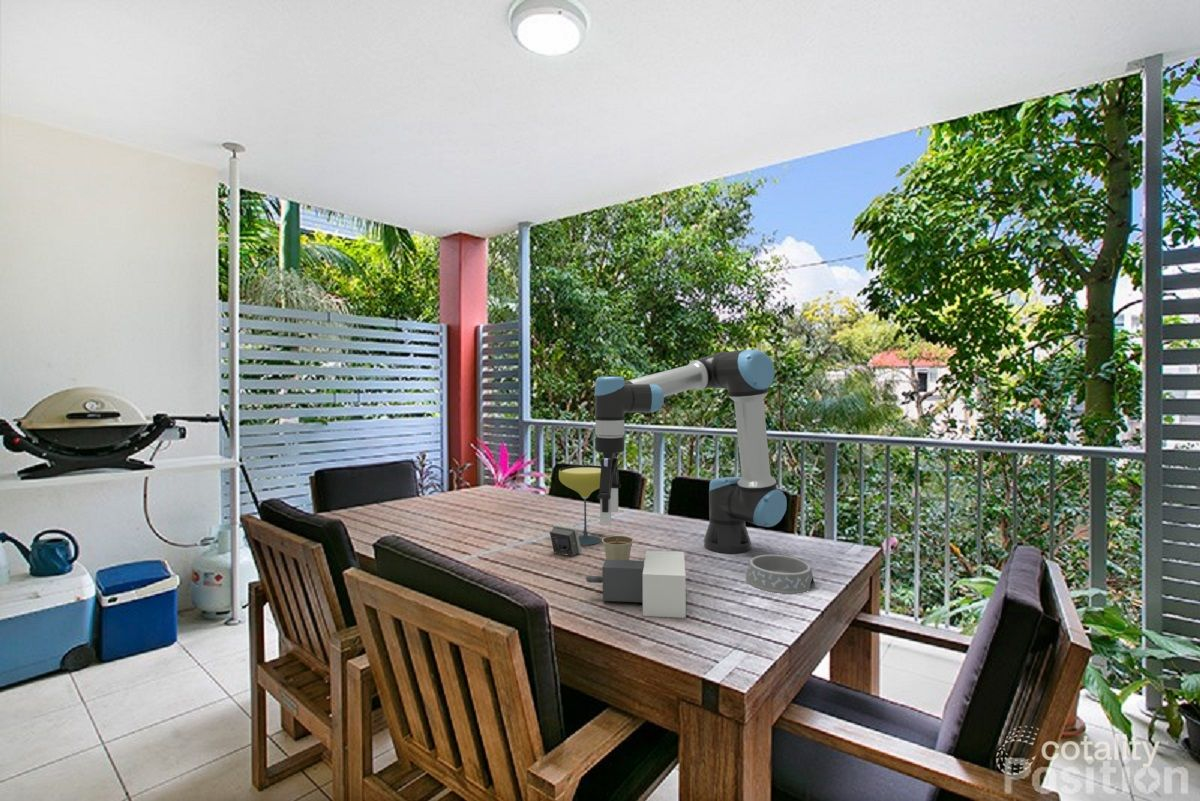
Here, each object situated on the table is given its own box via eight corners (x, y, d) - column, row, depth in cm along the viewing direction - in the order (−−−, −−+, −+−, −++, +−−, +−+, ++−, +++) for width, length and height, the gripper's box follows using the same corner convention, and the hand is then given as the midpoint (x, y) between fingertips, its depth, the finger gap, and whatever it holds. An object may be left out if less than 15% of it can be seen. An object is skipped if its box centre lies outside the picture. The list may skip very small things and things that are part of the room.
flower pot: (638, 565, 166) (638, 537, 165) (626, 576, 157) (626, 546, 157) (609, 561, 170) (609, 533, 169) (596, 571, 161) (596, 542, 161)
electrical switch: (582, 554, 177) (580, 526, 176) (572, 560, 173) (570, 531, 172) (558, 549, 183) (556, 522, 181) (549, 555, 178) (547, 527, 177)
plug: (666, 593, 142) (666, 561, 141) (666, 603, 136) (666, 569, 135) (588, 590, 144) (587, 558, 144) (584, 599, 138) (584, 566, 138)
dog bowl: (817, 577, 156) (817, 558, 156) (807, 600, 140) (807, 579, 140) (756, 567, 164) (756, 549, 164) (739, 588, 148) (739, 568, 148)
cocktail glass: (570, 551, 180) (569, 475, 179) (552, 537, 197) (551, 467, 196) (620, 544, 187) (619, 471, 186) (599, 531, 204) (598, 463, 203)
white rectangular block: (684, 588, 147) (683, 551, 147) (685, 617, 129) (685, 575, 129) (646, 587, 148) (646, 550, 148) (642, 615, 130) (642, 574, 130)
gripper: (602, 431, 155) (602, 506, 156) (586, 441, 131) (586, 530, 131) (629, 432, 154) (628, 507, 155) (618, 441, 130) (618, 531, 130)
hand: (609, 518), depth 143 cm, fingers open, 13 cm apart
